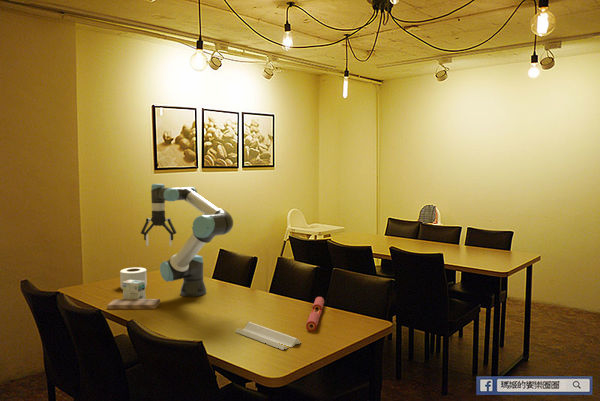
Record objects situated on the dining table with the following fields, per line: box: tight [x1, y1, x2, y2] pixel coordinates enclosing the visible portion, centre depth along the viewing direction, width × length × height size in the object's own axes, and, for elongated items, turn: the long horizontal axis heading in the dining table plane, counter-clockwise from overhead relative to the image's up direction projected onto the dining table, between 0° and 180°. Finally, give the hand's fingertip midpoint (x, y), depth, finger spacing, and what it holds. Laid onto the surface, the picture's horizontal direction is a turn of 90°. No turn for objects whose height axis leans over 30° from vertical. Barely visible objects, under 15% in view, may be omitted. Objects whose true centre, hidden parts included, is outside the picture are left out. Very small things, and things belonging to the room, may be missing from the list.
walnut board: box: [107, 298, 161, 310], centre depth 263 cm, size 25×11×2 cm, turn 92°
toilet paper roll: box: [119, 266, 148, 290], centre depth 303 cm, size 16×15×11 cm
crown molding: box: [235, 321, 302, 351], centre depth 217 cm, size 31×12×4 cm, turn 47°
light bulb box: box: [122, 280, 147, 299], centre depth 274 cm, size 11×7×11 cm, turn 72°
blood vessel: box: [305, 296, 325, 332], centre depth 247 cm, size 42×5×5 cm, turn 172°
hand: (158, 245), depth 286 cm, fingers open, 13 cm apart
